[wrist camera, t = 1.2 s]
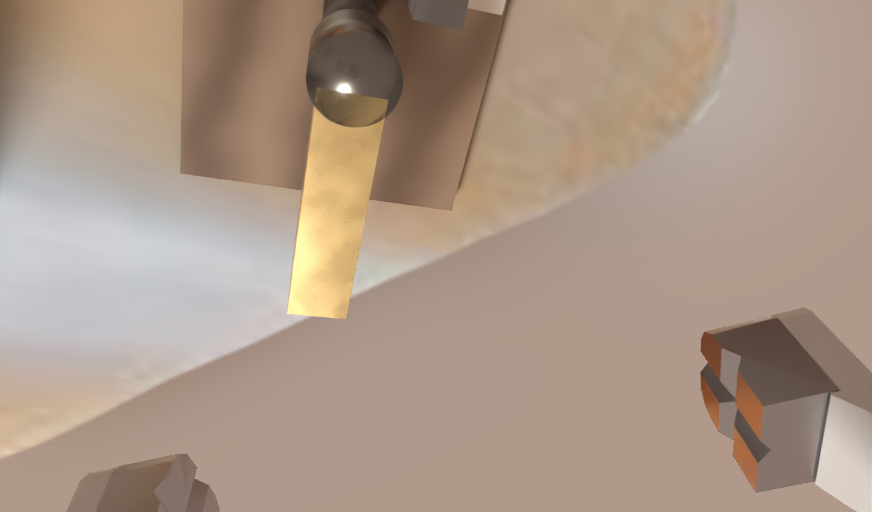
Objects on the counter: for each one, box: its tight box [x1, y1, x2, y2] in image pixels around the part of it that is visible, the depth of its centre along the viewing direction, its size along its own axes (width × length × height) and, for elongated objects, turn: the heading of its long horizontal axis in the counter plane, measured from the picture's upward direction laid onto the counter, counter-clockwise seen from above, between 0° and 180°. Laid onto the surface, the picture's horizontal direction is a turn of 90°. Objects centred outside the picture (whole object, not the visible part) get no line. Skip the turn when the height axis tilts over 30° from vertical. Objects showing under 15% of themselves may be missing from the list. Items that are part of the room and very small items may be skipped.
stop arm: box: [287, 9, 403, 319], centre depth 31 cm, size 14×4×4 cm, turn 167°
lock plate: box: [180, 0, 509, 211], centre depth 32 cm, size 18×24×14 cm
